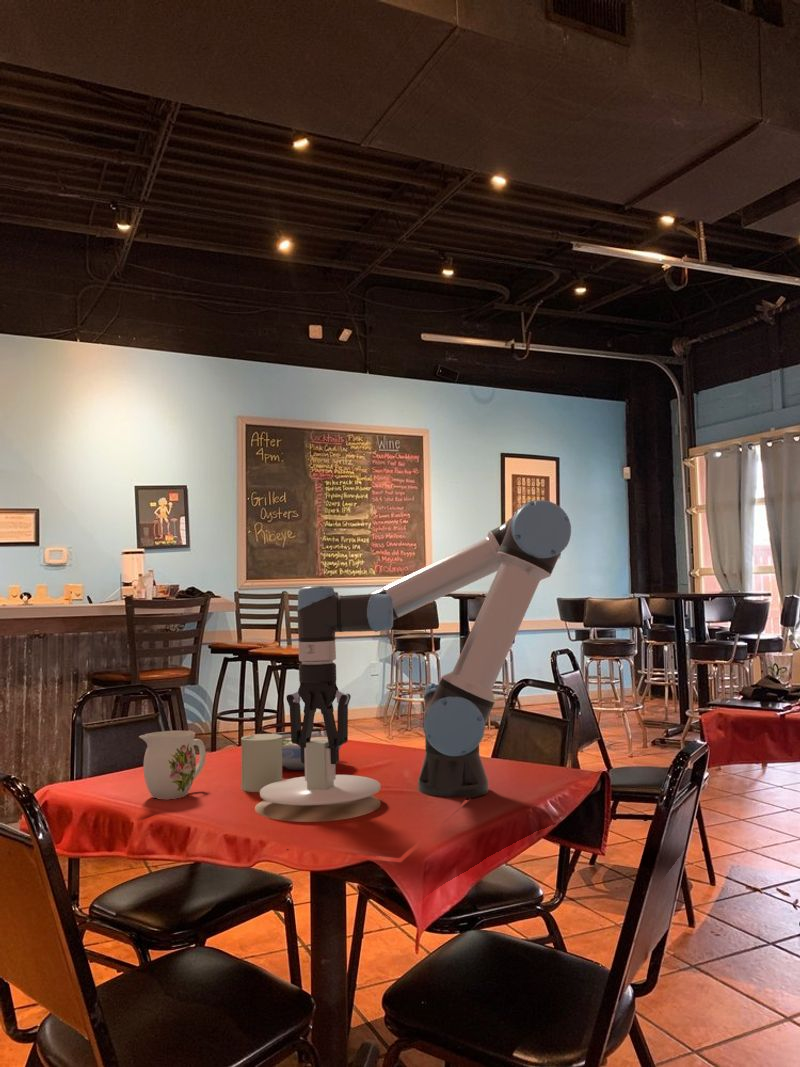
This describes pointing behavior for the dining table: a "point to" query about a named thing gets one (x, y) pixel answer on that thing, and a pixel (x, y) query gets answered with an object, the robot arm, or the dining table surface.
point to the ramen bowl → (297, 748)
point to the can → (261, 761)
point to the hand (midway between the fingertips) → (320, 779)
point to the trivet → (317, 810)
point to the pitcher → (171, 763)
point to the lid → (319, 783)
